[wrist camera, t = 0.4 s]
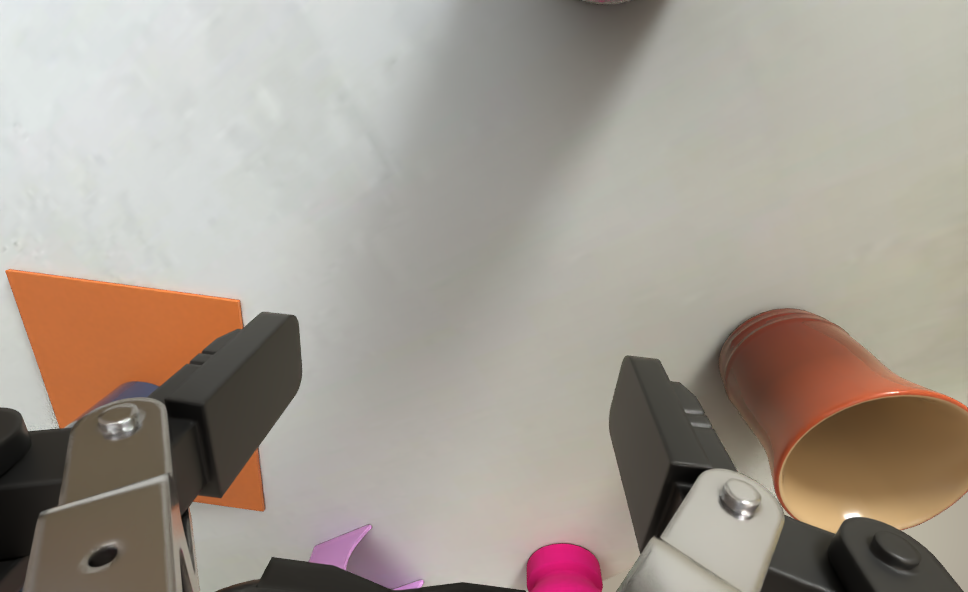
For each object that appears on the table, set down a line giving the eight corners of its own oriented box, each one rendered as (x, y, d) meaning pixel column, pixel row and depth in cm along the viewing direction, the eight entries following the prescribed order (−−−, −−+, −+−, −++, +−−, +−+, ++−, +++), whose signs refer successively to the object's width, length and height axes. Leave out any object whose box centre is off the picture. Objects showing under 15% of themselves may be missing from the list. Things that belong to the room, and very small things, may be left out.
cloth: (9, 268, 32) (4, 270, 32) (239, 299, 32) (237, 301, 32) (82, 482, 41) (79, 485, 41) (265, 508, 41) (263, 511, 40)
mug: (689, 313, 30) (764, 420, 21) (840, 272, 28) (996, 369, 19) (719, 452, 35) (792, 591, 25) (850, 425, 33) (981, 563, 23)
